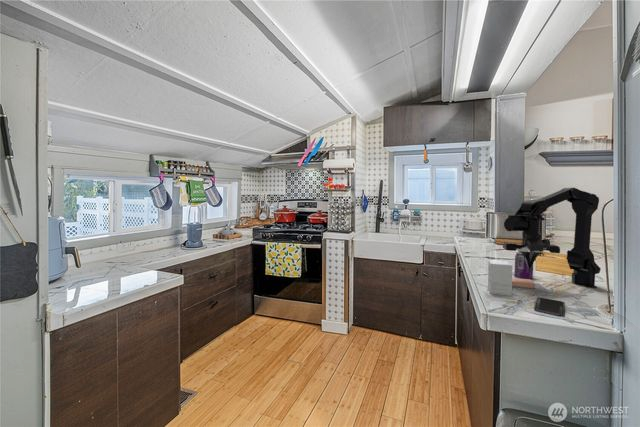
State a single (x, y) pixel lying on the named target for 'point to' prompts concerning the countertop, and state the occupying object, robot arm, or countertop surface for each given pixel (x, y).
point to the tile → (522, 283)
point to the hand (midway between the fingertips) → (529, 267)
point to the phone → (550, 306)
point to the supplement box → (500, 277)
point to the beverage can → (522, 267)
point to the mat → (537, 288)
